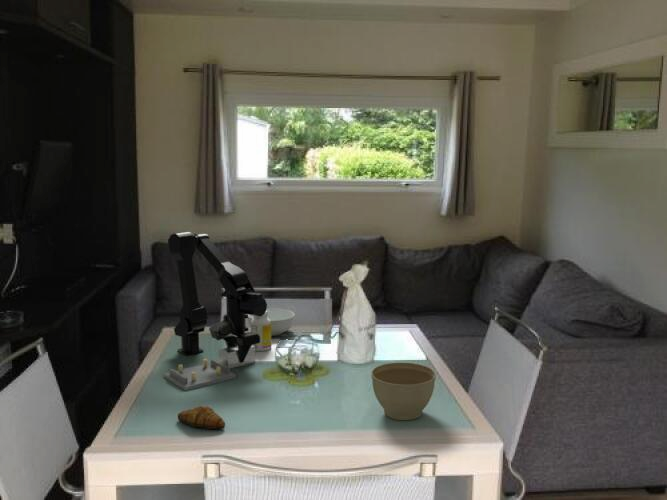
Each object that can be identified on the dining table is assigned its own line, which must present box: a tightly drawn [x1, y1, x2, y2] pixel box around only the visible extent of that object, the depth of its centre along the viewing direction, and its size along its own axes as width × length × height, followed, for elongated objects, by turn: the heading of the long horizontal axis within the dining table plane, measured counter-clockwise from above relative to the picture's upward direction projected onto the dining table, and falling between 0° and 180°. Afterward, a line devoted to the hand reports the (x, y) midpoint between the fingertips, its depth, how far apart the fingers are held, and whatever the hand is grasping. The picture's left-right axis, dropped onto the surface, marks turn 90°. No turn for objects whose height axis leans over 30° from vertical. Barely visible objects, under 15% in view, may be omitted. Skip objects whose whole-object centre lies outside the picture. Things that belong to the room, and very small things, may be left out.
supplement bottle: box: [250, 311, 272, 352], centre depth 218 cm, size 7×7×13 cm
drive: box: [218, 345, 256, 369], centre depth 204 cm, size 5×10×5 cm, turn 132°
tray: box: [163, 358, 237, 392], centre depth 192 cm, size 14×16×4 cm
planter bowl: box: [370, 361, 437, 421], centre depth 165 cm, size 16×16×11 cm
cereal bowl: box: [247, 308, 296, 337], centre depth 237 cm, size 17×17×7 cm
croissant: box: [177, 405, 226, 431], centre depth 159 cm, size 14×7×5 cm, turn 65°
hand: (237, 360), depth 204 cm, fingers closed on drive, 5 cm apart
